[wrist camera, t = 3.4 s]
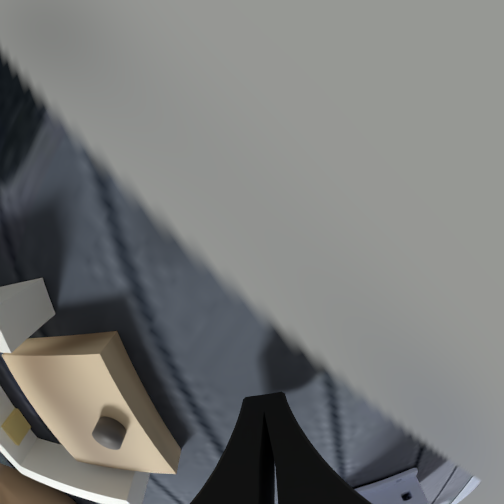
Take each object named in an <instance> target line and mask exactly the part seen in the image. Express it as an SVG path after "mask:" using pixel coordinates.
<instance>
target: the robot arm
mask: <svg viewBox="0 0 504 504" xmlns="http://www.w3.org/2000/svg"><path fill="white" fill-rule="evenodd" d="M275 467H276V478H277V491H278V504H429V502H428V500H427V498H426V496H425V494H424V492H423V490H422V487H421V485H420V483H419V481H418V479H417V477H416V475H417V473H418V470H417V468H412V469H409V470H407V471H405V472H402V473H400V474H397V475H395V476H392V477H389V478H387V479H384V480H381V481H378V482H375V483H372V484H369V485H366V486H363V487H359V488H356V489H353V488H352V487H351V486H349V485H348V484H347V483H346V482H345V481H344V480H343V479H342V478H341V477H340V476H339V475H338V474H337V473H336V472H335V471H334V470H333V469H332V468H331V467H330V466H329V465H328V463H327V462H326V461H325V460H324V459H323V458H322V457H321V455H320V454H319V453H318V452H317V450H316V449H315V448H314V446H313V445H312V444H311V442H310V441H309V440H308V438H307V437H306V435H305V434H304V432H303V430H302V429H301V427H300V426H299V424H298V422H297V421H296V419H295V417H294V415H293V413H292V411H291V409H290V407H289V405H288V402H287V399H286V396H285V393H283V392H278V393H271V394H265V395H258V396H251V397H245V398H244V399H243V403H242V407H241V410H240V414H239V417H238V420H237V423H236V425H235V428H234V430H233V433H232V435H231V437H230V440H229V442H228V444H227V446H226V449H225V451H224V452H223V454H222V456H221V458H220V460H219V462H218V464H217V466H216V467H215V469H214V471H213V472H212V474H211V476H210V477H209V479H208V480H207V482H206V483H205V485H204V486H203V487H202V489H201V490H200V492H199V493H198V494H197V495H196V497H195V498H194V499H193V500H192V502H191V503H190V504H274V494H275Z"/></svg>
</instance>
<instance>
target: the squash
mask: <svg viewBox="0 0 504 504" xmlns="http://www.w3.org/2000/svg"><path fill="white" fill-rule="evenodd" d="M0 504H77V503H76V502H75V501H74V500H73V499H72V498H70V497H69V496H68V495H66V494H64V493H63V492H61V491H60V490H58V489H55V488H53V487H50V486H48V485H46V484H43V483H41V482H39V481H36V480H34V479H32V478H30V477H28V476H25V475H23V474H21V473H20V472H19V471H18V470H16V469H13V468H11V467H8V466H6V465H3V464H1V463H0Z"/></svg>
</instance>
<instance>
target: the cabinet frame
mask: <svg viewBox="0 0 504 504" xmlns="http://www.w3.org/2000/svg"><path fill="white" fill-rule="evenodd" d="M54 315H55V311H54V309H53V306H52V303H51V301H50V298H49V295H48V292H47V289H46V287H45V284H44V281H43V278H39V279H34V280H29V281H25V282H20V283H15V284H11V285H6V286H2V287H0V352H3V353H12V352H13V351H14V350H15V349H16V348H17V347H19V346H20V345H21V344H22V343H23V342H24V341H25V340H26V339H27V338H29V337H30V336H31V335H32V334H33V333H34V332H35V331H36V330H38V329H39V328H40V327H41V326H42V325H43V324H44V323H46V322H47V321H48V320H49V319H50V318H52V317H53V316H54ZM30 428H31V426H30V424H29V423H28V422H27V420H26V419H25V418H24V416H23V415H22V413H21V412H20V411H19V409H17V408H15V407H14V406H13V404H12V403H11V401H10V400H9V398H8V397H7V395H6V394H5V392H4V390H3V389H2V387H1V386H0V452H1V453H2V454H3V455H4V456H5V457H6V458H7V459H8V460H9V461H10V462H11V464H12V465H13V466H14V467H15V468H16V469H17V470H18V471H19V472H20V473H21V474H23V475H25V476H28V477H30V478H32V479H34V480H36V481H39V482H41V483H43V484H46V485H48V486H50V487H53V488H55V489H58V490H61V491H63V492H66V493H69V494H72V495H75V496H78V497H81V498H84V499H87V500H91V501H94V502H98V503H101V504H142V502H143V498H144V494H145V491H146V487H147V483H148V479H149V475H150V472H139V471H130V470H122V469H116V468H109V467H103V466H98V465H93V464H88V463H83V462H79V461H76V460H75V459H74V457H73V456H72V455H71V454H70V453H69V452H68V451H67V450H66V448H65V447H64V446H63V445H61V444H57V443H53V442H50V441H46V440H43V439H40V438H37V437H36V435H35V434H34V433H33V432H32V430H31V429H30Z"/></svg>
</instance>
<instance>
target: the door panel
mask: <svg viewBox="0 0 504 504" xmlns="http://www.w3.org/2000/svg"><path fill="white" fill-rule="evenodd" d="M2 356H3V358H4V360H5V362H6V364H7V366H8V367H9V369H10V371H11V373H12V374H13V376H14V378H15V379H16V381H17V383H18V384H19V386H20V388H21V389H22V391H23V392H24V394H25V395H26V397H27V399H28V400H29V402H30V403H31V404H32V406H33V407H34V409H35V410H36V412H37V413H38V414H39V416H40V417H41V419H42V420H43V421H44V423H45V424H46V425H47V427H48V428H49V429H50V430H51V432H52V433H53V434H54V435H55V437H56V438H57V439H58V440H59V441H60V443H61V444H62V445H63V446H64V447H65V448H66V450H67V451H68V452H69V453H70V454H71V455H72V456H73V457H74V459H75V460H76V461H79V462H83V463H88V464H93V465H98V466H103V467H109V468H116V469H122V470H130V471H139V472H150V473H164V474H176V473H177V468H178V463H179V458H180V453H181V448H180V447H179V445H178V444H177V442H176V441H175V439H174V438H173V436H172V435H171V433H170V431H169V430H168V428H167V427H166V425H165V423H164V422H163V420H162V418H161V417H160V415H159V413H158V412H157V410H156V408H155V406H154V405H153V403H152V401H151V399H150V397H149V396H148V394H147V392H146V390H145V388H144V386H143V384H142V383H141V381H140V379H139V377H138V375H137V373H136V371H135V369H134V367H133V365H132V363H131V360H130V358H129V356H128V354H127V352H126V350H125V348H124V345H123V343H122V341H121V339H120V336H119V334H118V332H117V331H111V332H101V333H91V334H81V335H69V336H56V337H42V338H27V339H26V340H25V341H24V342H23V343H22V344H21V345H20V346H19V347H17V348H16V349H15V350H14V351H13V352H12V353H3V354H2Z"/></svg>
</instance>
